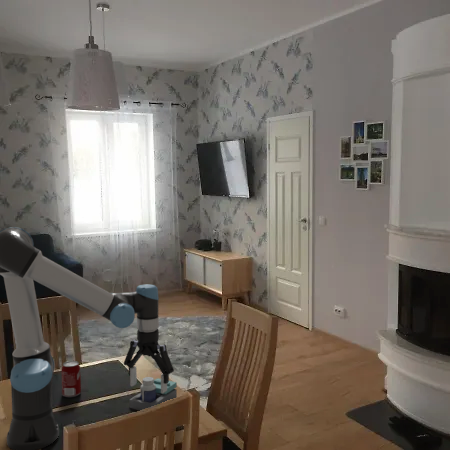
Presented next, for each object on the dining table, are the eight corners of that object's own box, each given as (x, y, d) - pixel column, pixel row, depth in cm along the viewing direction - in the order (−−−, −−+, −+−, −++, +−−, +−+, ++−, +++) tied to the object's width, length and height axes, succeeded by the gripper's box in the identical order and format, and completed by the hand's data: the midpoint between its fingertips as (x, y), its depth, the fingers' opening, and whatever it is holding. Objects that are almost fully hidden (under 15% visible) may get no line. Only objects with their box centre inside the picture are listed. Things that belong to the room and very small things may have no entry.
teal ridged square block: (165, 394, 183) (165, 387, 183) (145, 390, 187) (145, 383, 187) (176, 387, 190) (176, 380, 190) (157, 382, 194) (157, 376, 193)
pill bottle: (159, 404, 183) (159, 378, 182) (149, 410, 178) (149, 383, 177) (147, 401, 185) (147, 375, 185) (137, 406, 181) (137, 379, 180)
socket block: (153, 413, 175) (152, 405, 175) (129, 407, 180) (129, 399, 180) (176, 397, 189) (176, 389, 188) (154, 392, 193) (154, 384, 193)
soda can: (75, 399, 187) (74, 367, 186) (58, 397, 188) (57, 365, 187) (84, 391, 193) (83, 360, 192) (67, 390, 195) (67, 359, 194)
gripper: (183, 331, 177) (183, 391, 179) (126, 321, 188) (127, 378, 190) (171, 337, 170) (172, 399, 172) (113, 327, 181) (114, 385, 183)
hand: (148, 388), depth 181 cm, fingers open, 12 cm apart
